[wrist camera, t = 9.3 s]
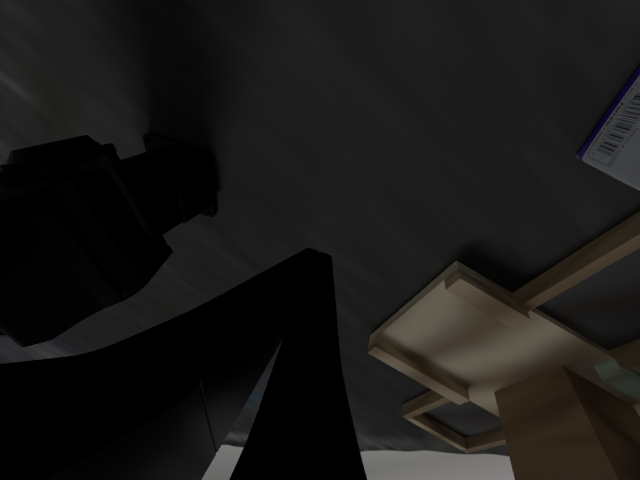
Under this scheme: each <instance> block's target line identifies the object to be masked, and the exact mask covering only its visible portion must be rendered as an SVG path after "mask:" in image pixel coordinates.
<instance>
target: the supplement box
mask: <svg viewBox="0 0 640 480" xmlns="http://www.w3.org/2000/svg"><path fill="white" fill-rule="evenodd" d="M576 157H577V158H579V159H581V160H582V161H584V162H585V163H587V164H589V165H591V166H593V167H595V168H597V169H599V170H601V171H603V172H605V173H606V174H608V175H610V176H612V177H614V178H616V179H618V180H619V181H621V182H623V183H625V184H627V185H629V186H631V187H633V188H635V189H637V190H639V191H640V66H639V67H638V69H637V70H636V71H635V73H634V74H633V76H632V77H631V79H630V80H629V81H628V83H627V84H626V86H625V87H624V88H623V90H622V91H621V93H620V94H619V96H618V97H617V98H616V100H615V101H614V103H613V104H612V106H611V107H610V108H609V110H608V111H607V113H606V114H605V116H604V117H603V118H602V120H601V121H600V123H599V124H598V126H597V127H596V128H595V130H594V131H593V133H592V134H591V135H590V137H589V138H588V140H587V141H586V143H585V144H584V145H583V147H582V148H581V150H580V151H579V152H578V154H577V155H576Z"/></svg>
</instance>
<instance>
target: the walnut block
mask: <svg viewBox="0 0 640 480" xmlns="http://www.w3.org/2000/svg"><path fill="white" fill-rule="evenodd" d="M494 394H495V398H496V402H497V406H498V411H499V415H500V419H501V423H502V427H503V431H504V436H505V440H506V444H507V448H508V452H509V456H510V461H511V464H512V469H513V473H514V477H515V480H640V416H639V415H638V413H637V412H636V410H635V408H634V407H633V406H632V405H630V404H629V403H627V402H625V401H623V400H622V399H620V398H618V397H616V396H615V395H613V394H611V393H610V392H608V391H606V390H604V389H603V388H601V387H599V386H597V385H596V384H594V383H592V382H590V381H589V380H587V379H585V378H583V377H582V376H580V375H578V374H577V373H575V372H573V371H571V370H570V369H568V368H566V367H564V366H563V365H561V366H559V367H556V368H554V369H551V370H548V371H546V372H543V373H541V374H538V375H536V376H533V377H531V378H528V379H526V380H523V381H521V382H518V383H516V384H513V385H511V386H508V387H506V388H503V389H500V390H498V391H495V392H494Z"/></svg>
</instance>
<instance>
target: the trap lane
mask: <svg viewBox="0 0 640 480" xmlns="http://www.w3.org/2000/svg"><path fill="white" fill-rule="evenodd" d="M368 353H369V354H370V355H372V356H374V357H376V358H377V359H379V360H381V361H383V362H384V363H386V364H388V365H390V366H391V367H393V368H395V369H397V370H398V371H400V372H402V373H404V374H405V375H407V376H409V377H411V378H412V379H414V380H416V381H418V382H419V383H421V384H423V385H425V386H426V387H428V388H430V389H432V390H430V391H428V392H426V393H424V394H422V395H420V396H418V397H416V398H414V399H412V400H410V401H408V402H406V403H404V404H402V417H404V418H406V419H407V420H409V421H411V422H413V423H414V424H416V425H418V426H420V427H421V428H423V429H425V430H427V431H428V432H430V433H432V434H434V435H435V436H437V437H439V438H441V439H443V440H444V441H446V442H448V443H450V444H451V445H453V446H455V447H457V448H458V449H460V450H462V451H464V452H465V453H471V452H475V451H479V450H483V449H488V448H492V447H496V446H500V445H505V444H506V440H505V436H504V431H503V427H502V423H501V419H500V415H499V411H498V406H497V402H496V398H495V394H494V392H495V391H498V390H500V389H503V388H506V387H508V386H511V385H513V384H516V383H518V382H521V381H523V380H526V379H528V378H531V377H533V376H536V375H538V374H541V373H543V372H546V371H548V370H551V369H554V368H556V367H559V366H561V365H563V366H564V367H566V368H568V369H570V370H571V371H573V372H575V373H577V374H578V375H580V376H582V377H583V378H585V379H587V380H589V381H590V382H592V383H594V384H596V385H597V386H599V387H601V388H603V389H604V390H606V391H608V392H610V393H611V394H613V395H615V396H616V397H618V398H620V399H622V400H623V401H625V402H627V403H629V404H630V405H632V406H633V407H634V408H635V410H636V412H637V413H638V415H639V416H640V367H639V366H640V211H638V212H636V213H635V214H633V215H632V216H630V217H629V218H627V219H626V220H624V221H623V222H621V223H619V224H618V225H616V226H615V227H613V228H612V229H610V230H609V231H607V232H606V233H604V234H603V235H601V236H599V237H598V238H596V239H595V240H593V241H592V242H590V243H589V244H587V245H586V246H584V247H582V248H581V249H579V250H578V251H576V252H575V253H573V254H572V255H570V256H569V257H567V258H565V259H564V260H562V261H561V262H559V263H558V264H556V265H555V266H553V267H552V268H550V269H549V270H547V271H545V272H544V273H542V274H541V275H539V276H538V277H536V278H535V279H533V280H532V281H530V282H528V283H527V284H525V285H524V286H522V287H521V288H519V289H518V290H516V291H515V292H513V293H512V292H510V291H508V290H507V289H505V288H503V287H501V286H500V285H498V284H496V283H495V282H493V281H491V280H489V279H488V278H486V277H484V276H482V275H481V274H479V273H477V272H476V271H474V270H472V269H470V268H469V267H467V266H465V265H464V264H462V263H460V262H458V261H457V260H456V261H455V262H454V263H453V264H452V265H450V266H449V267H448V268H447V269H446V270H445V271H443V272H442V273H441V274H440V275H439V276H438V277H437V278H435V279H434V280H433V281H432V282H431V283H430V284H429V285H427V286H426V287H425V288H424V289H423V290H422V291H421V292H419V293H418V294H417V295H416V296H415V297H414V298H413V299H411V300H410V301H409V302H408V303H407V304H406V305H405V306H403V307H402V308H401V309H400V310H399V311H398V312H397V313H395V314H394V315H393V316H392V317H391V318H390V319H389V320H387V321H386V322H385V323H384V324H383V325H382V326H380V327H379V328H378V329H377V330H376V331H375V332H374V333H372V334H371V335H370V341H369V347H368Z"/></svg>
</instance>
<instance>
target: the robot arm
mask: <svg viewBox="0 0 640 480" xmlns="http://www.w3.org/2000/svg"><path fill="white" fill-rule="evenodd" d="M143 140H144V144H145V149H146V152H144V153H141V154H138V155H135V156H132V157H129V158H126V159H122V160H120V159H119V157H118V155H117V154H116V149H115V147H114V145H113V143H110V144H104V145H100V144H99V143H98V142H96V141H94V140H93V139H92V138H90V137H89V136H87V135H84V136H79V137H74V138H70V139H65V140H60V141H55V142H50V143H46V144H41V145H36V146H32V147H27V148H23V149H18V150H13V151H10V154H9V156H8V158H7V161H6V163H5V164H3V165H0V337H6V336H8V337H10V338H11V339H12V340H13V341H14V342H16V343H17V344H18V345H19V346H21V347H27V346H31V345H35V344H38V343H42V342H45V341H49V340H52V339H54V338H55V337H57V336H58V335H60V334H61V333H63V332H65V331H66V330H68V329H69V328H71V327H72V326H74V325H75V324H77V323H79V322H80V321H82V320H84V319H85V318H87V317H89V316H91V315H93V314H94V313H96V312H98V311H100V310H102V309H104V308H107V307H109V306H112V305H114V304H117V303H119V302H122V301H124V300H126V299H128V298H129V297H131V296H133V295H134V294H136V293H137V292H139V291H140V290H141V289H142V288H143V287H144V286H145V285H146V284H147V283H148V282H149V281H150V279H151V278H152V277H153V276H154V275H155V273H156V272H157V271H158V270H159V268H160V267H161V266H162V265H163V263H164V262H165V261H166V260H167V259H168V257H169V256H170V255H171V254H172V252H173V251H172V249H171V247H170V246H168V244H167V243H166V241H165V239H164V237H163V236H162V234H165V233H166V232H168V231H169V230H171V229H172V228H174V227H175V226H177V225H178V224H180V223H181V222H182V223H186V222H187V221H189V220H190V219H192V218H193V217H195V216H196V215H198V214H199V213H200V214H203V215H206V216H209V217H213V216H214V215H216V213H217V211H216V198H215V186H214V176H213V164H212V155H211V153H210V152H209V151H208V150H207V149H204V148H200V147H197V146H193V145H190V144H187V143H183V142H180V141H176V140H173V139H169V138H166V137H163V136H159V135H156V134H152V133H146V134H144V135H143ZM204 154H205V155H206V157H205V156H204ZM210 211H211V212H210ZM282 340H283V341H282ZM281 341H282V343H281ZM280 343H281V346H280V349H279V352H278V355H277V358H276V361H275V363H274V366H273V369H272V372H271V375H270V378H269V381H268V384H267V386H266V389H265V392H264V395H263V398H262V401H261V404H260V406H259V411H258V412H257V415H256V418H255V421H254V423H253V426H252V429H251V431H250V434H249V436H248V439H247V441H246V444H245V446H244V448H243V451H242V453H241V455H240V457H239V460H238V462H237V464H236V466H235V469H234V471H233V473H232V475H231V478H230V480H367V477H366V474H365V470H364V466H363V463H362V458H361V454H360V450H359V445H358V441H357V436H356V432H355V427H354V423H353V419H352V414H351V410H350V405H349V401H348V396H347V391H346V386H345V381H344V375H343V369H342V361H341V353H340V342H339V333H338V322H337V311H336V300H335V289H334V278H333V267H332V257H331V255H328V254H325V253H322V252H320V253H319V252H318V251H317V250H314V249H311V248H306V249H304V250H302V251H301V252H299V253H297V254H295V255H293V256H291V257H289V258H288V259H286V260H284V261H282V262H280V263H278V264H277V265H275V266H273V267H271V268H269V269H267V270H266V271H264V272H262V273H260V274H258V275H256V276H255V277H253V278H251V279H249V280H247V281H245V282H243V283H242V284H240V285H238V286H236V287H234V288H232V289H231V290H229V291H227V292H225V293H224V294H223V295H219V296H217V297H216V298H214V299H212V300H210V301H208V302H206V303H204V304H202V305H200V306H198V307H196V308H195V309H193V310H190V311H188V312H186V313H184V314H182V315H179V316H177V317H175V318H173V319H171V320H168V321H166V322H164V323H161V324H159V325H157V326H155V327H152V328H150V329H148V330H145V331H143V332H141V333H138V334H136V335H134V336H131V337H129V338H127V339H124V340H122V341H120V342H117V343H115V344H112V345H110V346H107V347H105V348H102V349H99V350H96V351H92V352H88V353H84V354H80V355H75V356H68V357H59V358H50V359H41V360H32V361H24V362H15V363H6V364H0V480H201V479H202V477H203V476H204V474H205V472H206V470H207V469H208V467H209V465H210V464H211V462H212V460H213V459H214V457H215V455H216V452H218V450H219V448H220V446H221V445H222V443H223V441H224V440H225V438H226V436H227V434H228V433H229V431H230V429H231V427H232V426H233V424H234V422H235V421H236V419H237V417H238V415H239V414H240V412H241V410H242V408H243V407H244V405H245V403H246V402H247V400H248V398H249V396H250V395H251V393H252V391H253V390H254V388H255V386H256V384H257V383H258V381H259V379H260V377H261V376H262V374H263V372H264V371H265V369H266V367H267V365H268V364H269V362H270V360H271V359H272V357H273V355H274V353H275V352H276V350H277V348H278V346H279V345H280Z"/></svg>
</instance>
